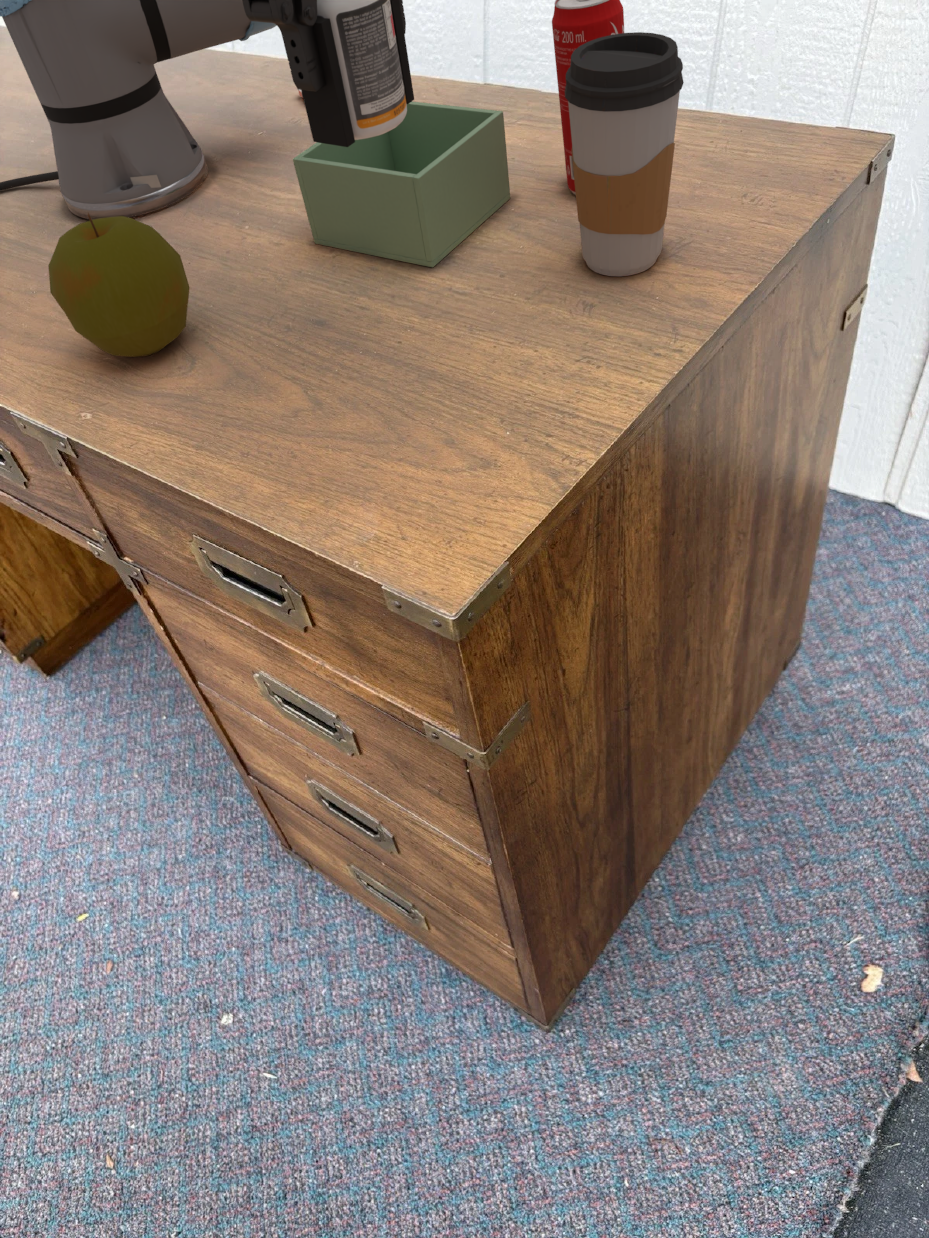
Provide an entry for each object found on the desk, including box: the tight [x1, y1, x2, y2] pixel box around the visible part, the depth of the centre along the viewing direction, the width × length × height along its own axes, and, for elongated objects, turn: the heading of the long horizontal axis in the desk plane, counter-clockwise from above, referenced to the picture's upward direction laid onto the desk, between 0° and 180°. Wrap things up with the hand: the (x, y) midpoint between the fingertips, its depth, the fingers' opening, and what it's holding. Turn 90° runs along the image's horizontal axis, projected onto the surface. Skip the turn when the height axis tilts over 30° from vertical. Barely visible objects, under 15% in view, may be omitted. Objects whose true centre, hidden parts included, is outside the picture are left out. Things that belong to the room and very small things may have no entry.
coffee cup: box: [565, 31, 684, 277], centre depth 66 cm, size 8×8×15 cm
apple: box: [47, 213, 191, 358], centre depth 69 cm, size 10×10×11 cm
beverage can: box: [551, 0, 625, 196], centre depth 75 cm, size 6×6×15 cm
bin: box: [292, 100, 511, 268], centre depth 78 cm, size 13×13×8 cm
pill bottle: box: [317, 0, 407, 140], centre depth 52 cm, size 6×6×10 cm
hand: (364, 119), depth 55 cm, fingers closed on pill bottle, 6 cm apart
